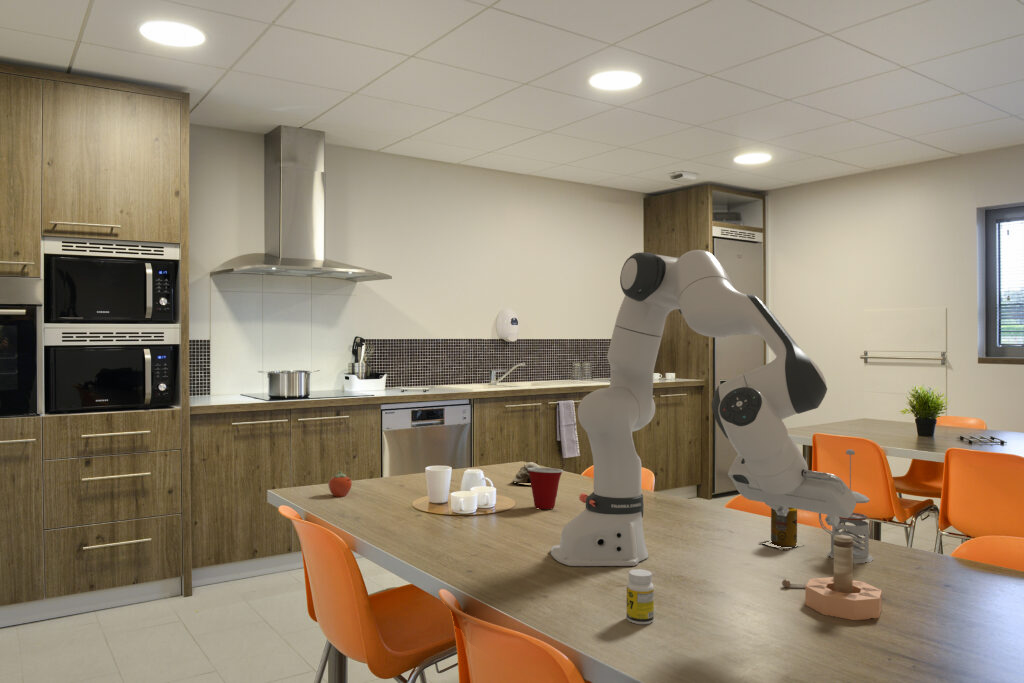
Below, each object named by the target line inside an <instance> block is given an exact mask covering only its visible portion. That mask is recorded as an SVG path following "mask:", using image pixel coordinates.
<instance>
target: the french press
mask: <svg viewBox="0 0 1024 683" xmlns="http://www.w3.org/2000/svg"><path fill="white" fill-rule="evenodd" d="M845 454H846V455H849V489H850V490H851V492H852V493H853V495H854V496H855V498H856V500H857V502H856V504H866V503H869V502H870V498H869V497H868V496H866V495H865V494H862V493H860V492H857V491H854V490H852V489H851V488H852V482H851V481H852V477H851V476H852V468H851V467H852V463H851V462H852V455H853V456H854V455H855V454H856V453H855V450H853V449H852V448H851V449H846V451H845ZM839 518H840V521H839V524H838V526H837V527H835V526H831V527H832V528H831V530H830V529H828V528H827V527H826V526H825V525H824V523H823V520H822V514H821V513H818V522H819V525H820V526H821V528H822V529H823V530H824V531H825V532H826V533H828V534H829V535H830V550H829V552H827V553H828V555H827V557H829V556H830V557H831V559H832V558H834V536H835V535H845V536H850V537H852V538H853V562H855V563H854V564H866V563H865V562H869V563H872V562H873V561H872V560H874V557H873V556H871V555H870V554H869V552H870V551H869V550H870V549H869V548H870V547H869V542H870V541H869V538H870V537H869V536H870V535H869V533H870V532H869V527H870V526H869V522H867V521H866V520H867V519H868V516H867V515H866V514H864V513H863V514H862V513H860V512H854V511H853V513H852V514H851V516H850V517H848V518H842V517H839ZM845 523H846V524H845ZM847 523H849V525H848V524H847ZM850 524H852V525H850ZM841 530H842V531H841ZM863 542H864V543H863ZM830 557H829V558H830ZM871 561H872V562H871Z"/></svg>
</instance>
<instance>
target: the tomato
mask: <svg viewBox="0 0 1024 683" xmlns="http://www.w3.org/2000/svg"><path fill="white" fill-rule="evenodd" d="M352 484H353V481H352V479H351V478H350V477H349V476H347V474H345V473H343V472H342V470H339V471H338V473H336V474H334V475H333V477H331V478H330V479H329V481H328V489H329V492H330V493H331V494H332V496H333V497H336V498H342V497H343V498H344V497H346V496H347V495H348V494H349V493H350V491H351V489H352V486H353V485H352Z"/></svg>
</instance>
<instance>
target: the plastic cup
mask: <svg viewBox="0 0 1024 683" xmlns="http://www.w3.org/2000/svg"><path fill="white" fill-rule="evenodd" d="M527 469H528V471H529V475H530V479H531V486H530V487H531V491H532V498H533V504H534V505H533V506H534V508H535V507H536V508H539V509H551V508H554V509H555V506H556V500H557V496H558V492H559V491H558V489H559V485H560V484H559V483H560V481H561V477H562V473H563V472H564V470H563V469H561V468H554V467H542V466H540V467H533V468H527ZM536 508H535V509H536ZM539 509H538V510H539ZM551 510H552V509H551Z"/></svg>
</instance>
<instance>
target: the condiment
mask: <svg viewBox="0 0 1024 683" xmlns="http://www.w3.org/2000/svg"><path fill="white" fill-rule="evenodd" d="M788 508H789V512H788V513H787V516H781V515H778V514H777V513H776V511H775V510H774V509H772V508H771V507H770V540H771V541H772V542H771V543H772V544H774V545H777V546H781V547H795V546H796V545H797V544H798V509H795V508H790V507H788ZM770 540H764V541H759V542H757V543H758V544H760V545H762V544H763V543H766V542H769V541H770ZM796 543H797V544H796ZM781 547H780V548H781ZM783 549H785V550H783ZM786 549H787V550H791V549H792V548H790V549H789V548H781V549H779V550H780V551H786Z"/></svg>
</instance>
